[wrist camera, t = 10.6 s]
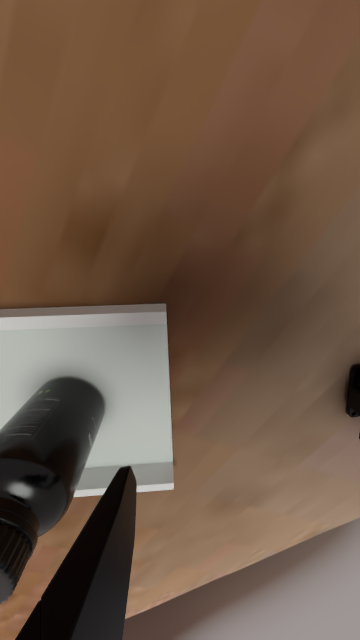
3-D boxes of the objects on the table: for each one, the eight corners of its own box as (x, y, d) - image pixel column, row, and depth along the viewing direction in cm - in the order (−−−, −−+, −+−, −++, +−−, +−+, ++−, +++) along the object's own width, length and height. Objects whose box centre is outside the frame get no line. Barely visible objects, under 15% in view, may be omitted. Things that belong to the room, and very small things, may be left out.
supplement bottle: (118, 417, 22) (64, 602, 10) (59, 438, 22) (-53, 636, 11) (85, 364, 20) (-29, 525, 8) (21, 388, 20) (-171, 572, 9)
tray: (165, 303, 18) (165, 311, 16) (173, 466, 25) (173, 489, 22) (-88, 312, 17) (-128, 322, 15) (-11, 479, 24) (-31, 504, 21)
